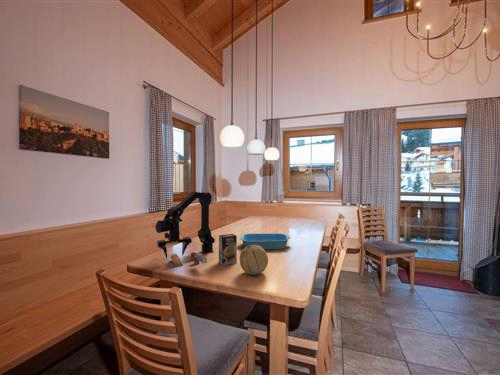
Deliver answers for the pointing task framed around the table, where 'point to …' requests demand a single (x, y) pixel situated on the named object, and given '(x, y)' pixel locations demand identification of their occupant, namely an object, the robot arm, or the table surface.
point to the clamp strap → (201, 258)
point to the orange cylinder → (175, 259)
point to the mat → (174, 264)
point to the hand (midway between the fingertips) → (174, 256)
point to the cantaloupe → (253, 259)
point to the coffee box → (227, 249)
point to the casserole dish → (265, 240)
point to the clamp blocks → (194, 258)
